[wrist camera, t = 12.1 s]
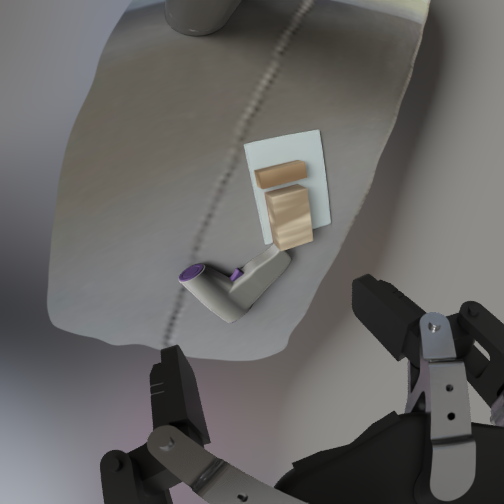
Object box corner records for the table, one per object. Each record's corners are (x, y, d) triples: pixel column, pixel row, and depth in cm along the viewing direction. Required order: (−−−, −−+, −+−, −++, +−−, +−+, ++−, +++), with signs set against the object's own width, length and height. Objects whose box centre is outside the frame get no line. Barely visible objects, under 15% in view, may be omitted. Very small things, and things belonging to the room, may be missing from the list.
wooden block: (271, 197, 37) (281, 251, 41) (307, 188, 38) (313, 240, 42) (264, 192, 40) (273, 243, 44) (297, 183, 41) (304, 233, 45)
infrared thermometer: (286, 254, 48) (225, 314, 48) (241, 206, 42) (174, 275, 42) (298, 265, 44) (232, 329, 44) (252, 213, 38) (177, 289, 38)
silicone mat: (243, 144, 37) (244, 144, 36) (317, 129, 39) (319, 129, 38) (264, 243, 44) (266, 244, 44) (328, 222, 46) (330, 223, 46)
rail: (253, 170, 38) (259, 172, 36) (297, 159, 39) (304, 161, 37) (257, 186, 39) (262, 189, 37) (300, 174, 41) (307, 177, 38)
